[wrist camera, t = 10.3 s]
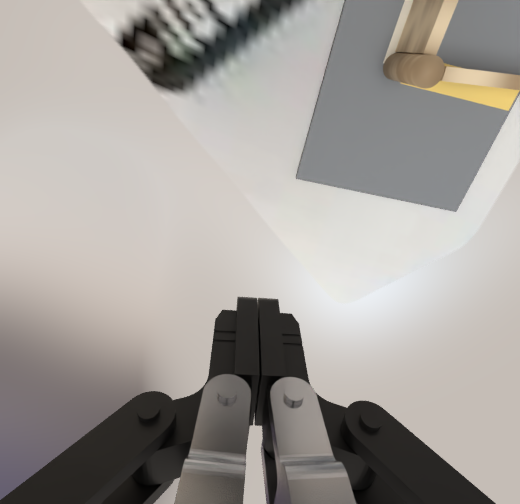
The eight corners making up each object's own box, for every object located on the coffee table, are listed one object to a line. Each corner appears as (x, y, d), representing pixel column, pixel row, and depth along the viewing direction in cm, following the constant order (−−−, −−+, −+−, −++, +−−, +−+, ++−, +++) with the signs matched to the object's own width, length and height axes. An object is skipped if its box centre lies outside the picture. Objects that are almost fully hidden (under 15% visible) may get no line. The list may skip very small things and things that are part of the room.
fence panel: (410, 76, 32) (441, 82, 27) (415, 61, 32) (447, 64, 27) (536, 91, 33) (589, 100, 28) (543, 77, 33) (598, 83, 28)
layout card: (405, -217, 24) (408, -221, 24) (635, -131, 27) (641, -133, 26) (295, 177, 38) (296, 178, 37) (454, 210, 40) (456, 212, 40)
